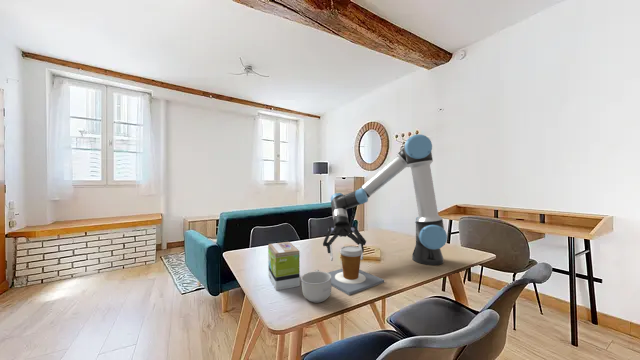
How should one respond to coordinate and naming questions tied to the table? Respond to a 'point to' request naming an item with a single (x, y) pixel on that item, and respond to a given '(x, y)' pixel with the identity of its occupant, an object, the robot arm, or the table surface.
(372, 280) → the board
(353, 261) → the disposable coffee cup
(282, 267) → the tea box
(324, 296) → the teacup
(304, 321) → the table surface
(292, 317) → the table surface
